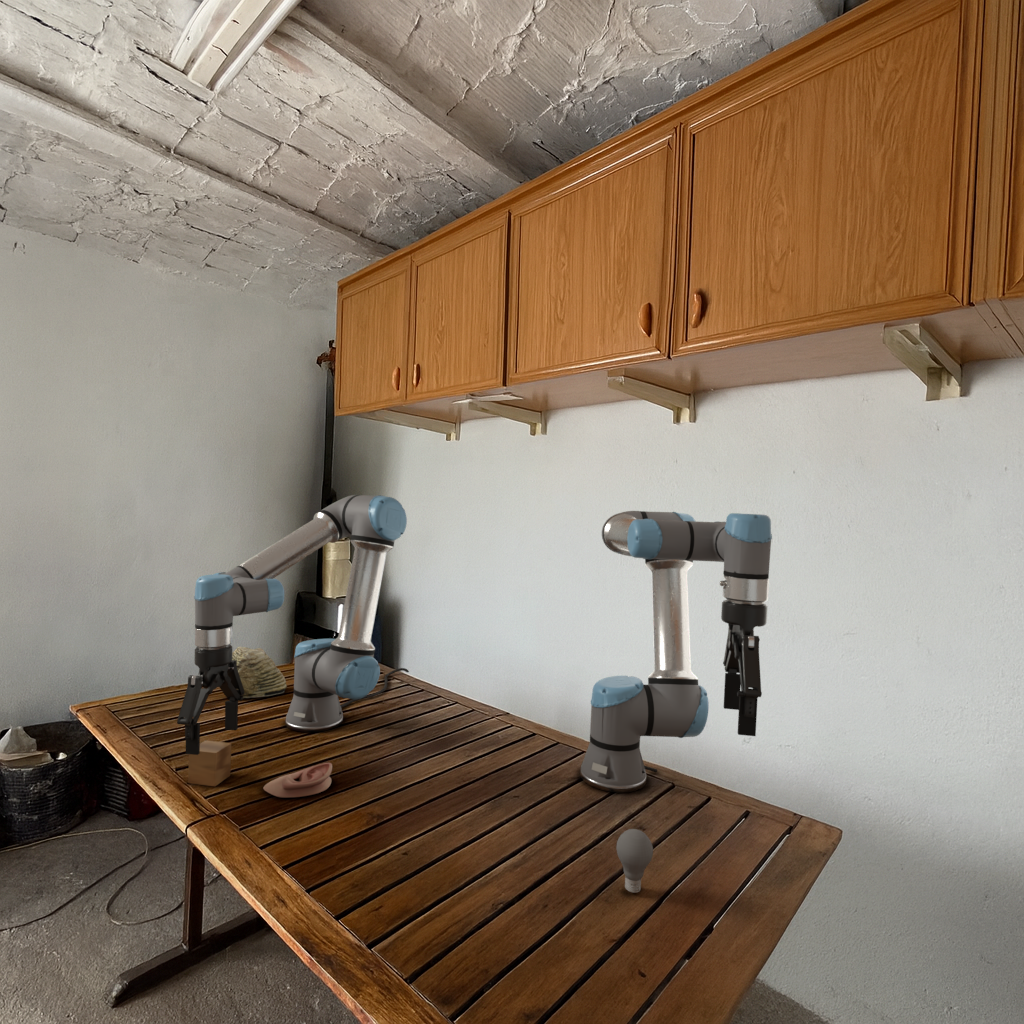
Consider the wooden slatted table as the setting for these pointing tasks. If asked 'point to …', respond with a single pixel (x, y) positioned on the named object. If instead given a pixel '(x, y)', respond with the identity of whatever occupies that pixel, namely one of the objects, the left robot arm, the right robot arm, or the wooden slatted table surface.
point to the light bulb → (634, 857)
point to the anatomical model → (301, 782)
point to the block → (210, 763)
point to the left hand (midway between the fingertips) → (212, 741)
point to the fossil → (258, 673)
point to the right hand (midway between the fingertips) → (738, 721)
